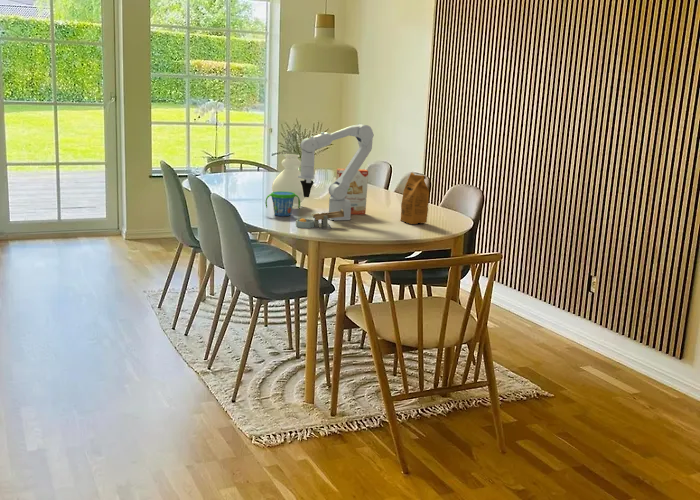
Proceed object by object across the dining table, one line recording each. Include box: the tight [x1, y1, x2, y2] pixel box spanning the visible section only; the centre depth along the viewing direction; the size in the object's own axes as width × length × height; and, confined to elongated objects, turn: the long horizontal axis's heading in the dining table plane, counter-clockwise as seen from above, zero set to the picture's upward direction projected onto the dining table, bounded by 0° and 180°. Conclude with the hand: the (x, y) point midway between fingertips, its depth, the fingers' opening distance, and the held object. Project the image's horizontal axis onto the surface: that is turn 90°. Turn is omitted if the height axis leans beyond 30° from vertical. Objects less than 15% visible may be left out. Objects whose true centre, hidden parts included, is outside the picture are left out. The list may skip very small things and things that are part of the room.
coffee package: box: [400, 172, 430, 225], centre depth 334 cm, size 10×12×22 cm
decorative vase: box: [271, 153, 306, 210], centre depth 359 cm, size 18×18×25 cm
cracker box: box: [335, 168, 369, 216], centre depth 349 cm, size 14×6×21 cm, turn 105°
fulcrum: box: [313, 216, 332, 229], centre depth 317 cm, size 7×9×5 cm
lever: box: [311, 209, 344, 221], centre depth 319 cm, size 12×12×3 cm
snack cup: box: [264, 191, 301, 217], centre depth 337 cm, size 16×10×10 cm
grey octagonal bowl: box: [295, 218, 315, 229], centre depth 316 cm, size 7×7×2 cm
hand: (306, 197), depth 329 cm, fingers closed
